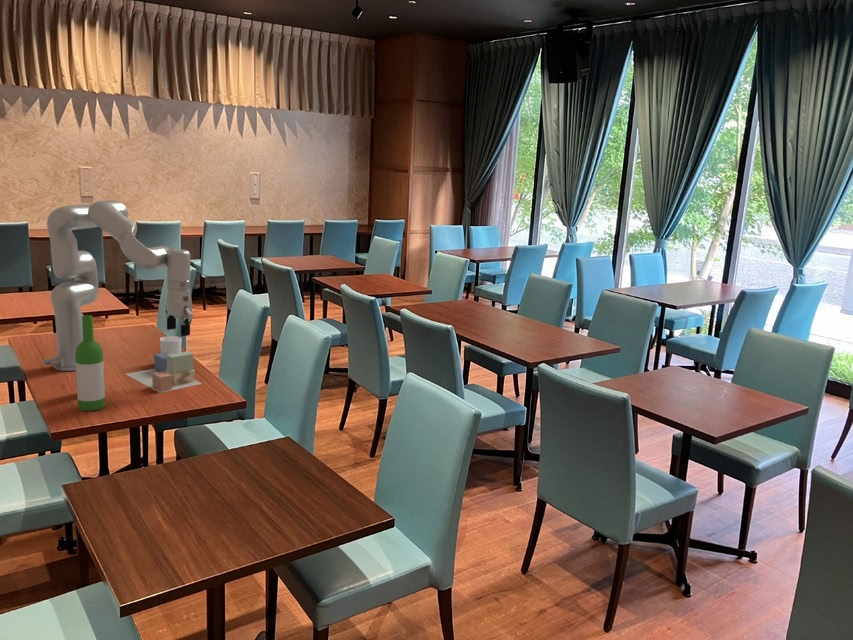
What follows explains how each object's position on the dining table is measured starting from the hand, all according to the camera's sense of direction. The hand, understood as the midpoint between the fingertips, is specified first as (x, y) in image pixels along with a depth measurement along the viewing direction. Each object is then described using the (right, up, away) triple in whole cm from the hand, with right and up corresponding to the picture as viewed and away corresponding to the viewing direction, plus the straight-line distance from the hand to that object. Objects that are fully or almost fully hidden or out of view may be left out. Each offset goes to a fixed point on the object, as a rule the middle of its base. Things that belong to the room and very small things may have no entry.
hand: (178, 332), depth 243 cm
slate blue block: (-10, -15, +14) cm, 23 cm away
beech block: (-1, -18, +4) cm, 18 cm away
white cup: (-11, -13, +24) cm, 30 cm away
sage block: (0, -14, +3) cm, 14 cm away
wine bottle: (-18, -24, -25) cm, 39 cm away
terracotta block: (-4, -19, -4) cm, 20 cm away
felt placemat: (-7, -17, +5) cm, 19 cm away
